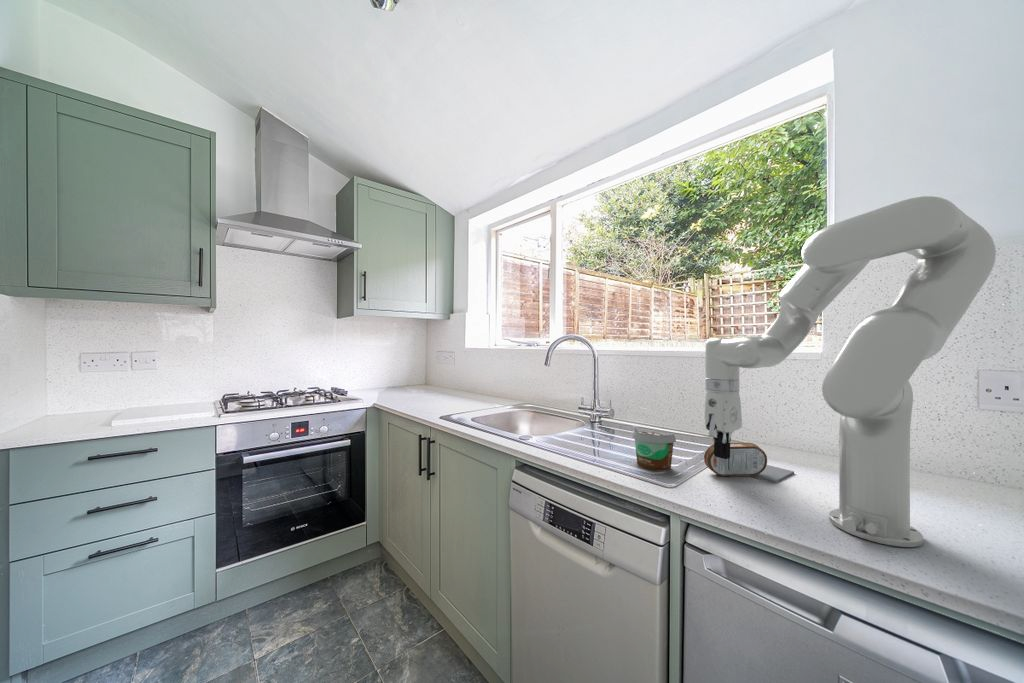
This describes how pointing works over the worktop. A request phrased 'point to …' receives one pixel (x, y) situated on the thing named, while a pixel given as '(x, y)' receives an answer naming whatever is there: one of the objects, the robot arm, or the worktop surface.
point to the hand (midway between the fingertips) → (722, 457)
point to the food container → (653, 450)
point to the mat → (773, 474)
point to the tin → (737, 460)
